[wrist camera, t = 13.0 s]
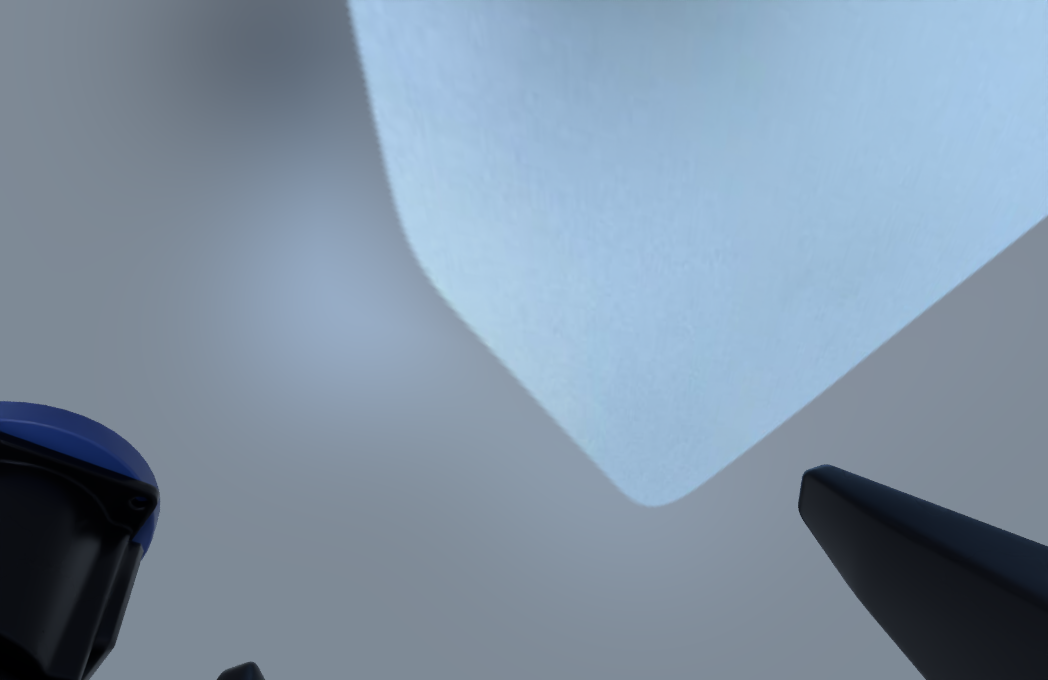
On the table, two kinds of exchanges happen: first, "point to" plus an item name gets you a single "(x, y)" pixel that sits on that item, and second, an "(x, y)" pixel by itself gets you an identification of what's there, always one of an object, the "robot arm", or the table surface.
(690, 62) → the table surface
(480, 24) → the table surface
